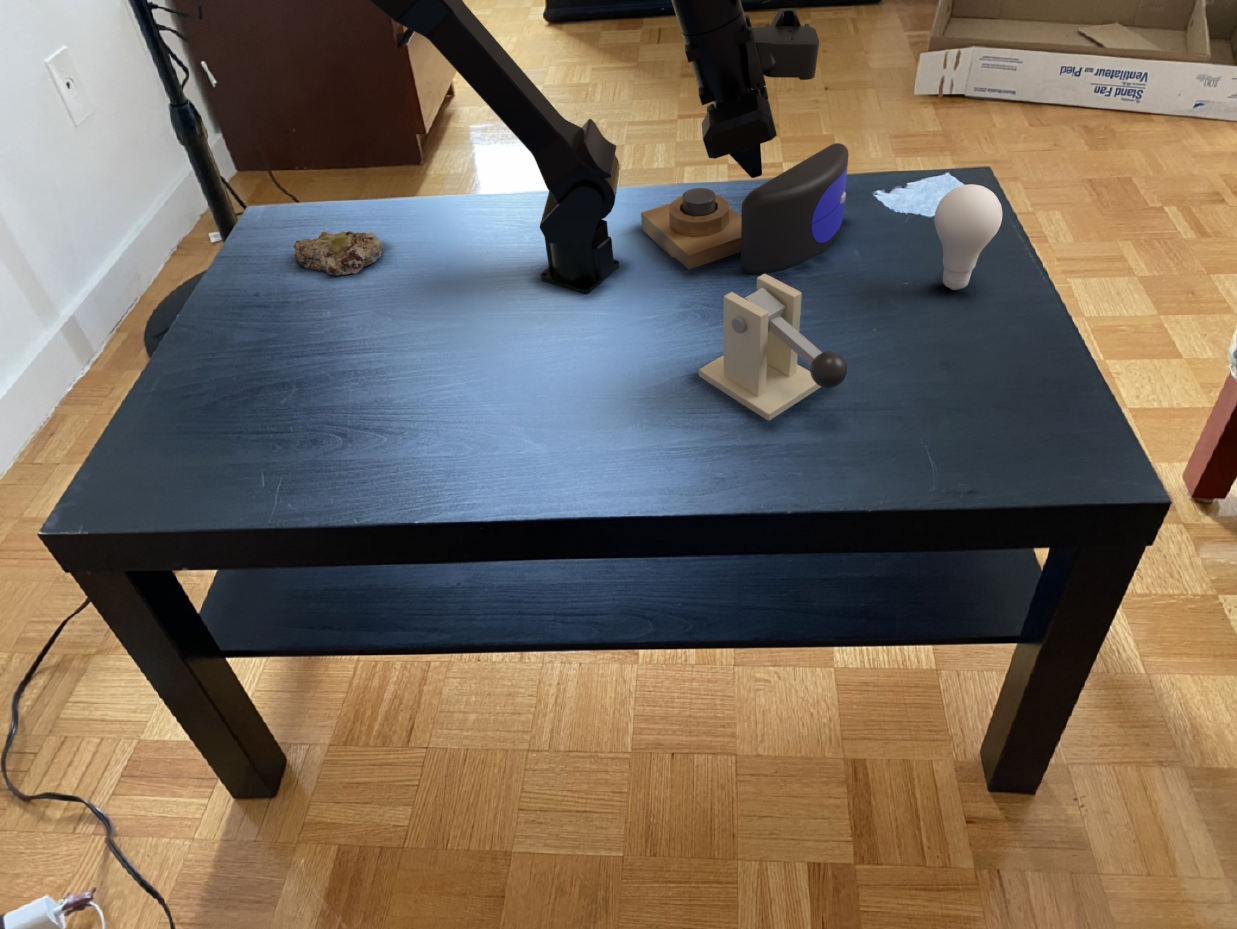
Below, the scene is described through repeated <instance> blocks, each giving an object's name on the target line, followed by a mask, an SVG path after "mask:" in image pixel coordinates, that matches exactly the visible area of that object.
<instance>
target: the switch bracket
mask: <svg viewBox="0 0 1237 929" xmlns="http://www.w3.org/2000/svg"><path fill="white" fill-rule="evenodd" d="M761 288H764V289H765V290H766V291H767V292H769V293H770V294H771V295H772V296H773V297H774V298H776V299H777V300H778V301H779V302H780V303H781V304H783V305H784V306H785V308H784V312H783V315H782V318H783V319H784V320H785V321H786V322H787V323H789V324H790V325H791V326H792V327H793V328H794V329H796V330H797V331H798V332H799V333H800V329H801V328H800V326H801V325H800V324H801V311H802V297H803V296H802V294H803V293H802V291H800V290H798V289H796V288H794V287H792V286H790V285H788V284H786V283H784V282H783V281H780V280H778V279H776V278H775V277H773V276H771V275H769V274H768V273H764V274H760V275H759V276H757V277H756V291H758V290H759V289H761ZM798 357H799V355H798V354H797V353H795V352H794V351H793V350H792V349H791V348H790V347H789V346H787V345H786V344H785V343H784V342H783V341H782V340H781V339H779V338H778V337H777V336H776V335H775V334H774V333H773V332H771V331H769V332H768V311H766V310H764V309H762V308H760V307H759V306H757V305H755V304H753V303H751V302H749V301H748V300H746V299H745V297H743V296H740V295H739V294H737V293H735V292H733V291H730V292H729V293H727V294H725V295H724V296H723V354H722V355H721V356H719V357H717V358H716V359H714V360H713V361H710V362H709V363H707V364H705V365H704V366H702V367H701V368H699V369H698V377H700V379H703V380H704V381H706V382H707V383H709V384H710V385H711V386H713V387H715V388H716V389H718V390H720V392H722V393H724V394H726V395H727V396H729V397H730V398H732V400H733V399H734V400H735V401H736V402H738V403H740V404H741V405H743V406H744V407H746V408H747V409H749V410H751V412H754V413H755V414H757V415H758V416H760V417H761V418H763V419H764V420H766V421H767V422H769V421H771V420H773V419H775V418H776V417H777V416H779V415H780V414H782V413H784V412H785V411H787V410H788V409H789V408H792V407H793V406H794V405H795V404H797V403H799V402H801V401H802V400H804V399H805V398H806V397H809V395H811V394H813V393H814V392H816V391H817V390H819V389H821V388H822V387H821V386H819V385H818V384H816V383H815V382H814V380H813V379H812V377H811V373H810V370H808V369H806V368H805V367H803V366H801V365H799V364H798V359H799V358H798Z"/></svg>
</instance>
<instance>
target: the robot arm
mask: <svg viewBox="0 0 1237 929" xmlns="http://www.w3.org/2000/svg"><path fill="white" fill-rule="evenodd" d="M771 1H772V0H761V3H762V4H765V3H768V2H771ZM368 2H370V3H371V4H372V5H374V6H375V7H376V8H377V9H379V11H381V12H382V13H384V14H385V16H387V17H388V18H390V19H391V20H392V21H393V22H395V23H396V24H399V25H400V26H403V27H405V28H407V29H409V30H411V31H412V32H415V33H417V34H419V35H420V36H422V37H424V38H426V39H427V40H428V41H429V42H430V43H431V44H432V46H434V47H435V48H436V50H437V51H438V52H439V53H440V55H442V56H443V57H444V58H445V60H446V61H447V62H448V63H449V65H451V66H452V67H453V68H454V69H455V70H456V72H457V73H458V74H459V75H460V76H461V77H462V79H463V80H464V81H465V82H466V83H467V84H468V86H470V87H471V88H472V89H473V90H474V92H475V93H476V94H477V95H478V96H479V97H480V98H481V100H482V101H483V102H484V103H485V104H486V105H487V106H488V107H489V108H490V109H491V110H492V111H493V112H494V114H495V115H496V116H497V117H498V118H499V120H501V121H502V123H503V124H504V125H505V126H506V127H507V128H508V129H509V130H510V131H511V133H513V135H514V136H515V137H516V138H517V139H518V140H519V141H520V143H522V145H523V146H524V147H525V148H526V149H527V150H528V151H529V153H530V154H531V155H532V157H533V159H534V161H535V163H536V165H537V168H538V170H539V173H540V175H541V177H542V180H543V182H544V185H545V186H546V189H547V190H548V194H547V196H546V201H545V205H544V208H543V212H542V215H541V220H540V224H539V229H540V231H541V233H542V236H543V238H544V242H545V243H544V244H545V251H546V258H547V263H548V264H547V265H548V267H547V268H546V269H545V270H544V271H543V272H541V273H540V274H539V276H540V280H541V281H544V282H547V283H550V284H554V285H556V286H560V287H563V288H566V289H570V290H573V291H576V292H579V293H583V294H589V293H591V292H592V291H593V290H595V289H596V288H597V287H598V286H599V285H600V284H601V283H602V282H604V281H605V280H606V279H607V278H608V277H609V276H611V275H612V274H613V273H614V272H615V271H616V270H617V269H619V268H620V266H621V264H620V261H619V259H614V251H613V240H612V237H611V236H609V229H608V227H609V226H608V221H607V220H605V219H606V218H607V217H608V216H609V215H610V213H611V212H612V211H613V209H614V206H615V203H616V197H617V190H618V184H619V177H620V162H619V159H618V157H617V156H616V152H617V145H616V144H614V143H613V142H611V141H609V140H608V139H607V138H606V137H605V136H604V135H603V133H602V132H601V131H600V129H599V127H598V125H597V124H596V122H595V121H594V120H593V119H592V118H589V119H588V120H587V121H586V122H585V123H584V124H583V125H582V126H579V125H577V124H576V123H573V122H571V121H570V120H567V119H566V118H565V117H564V116H562V115H561V113H560V112H559V111H558V110H557V109H556V108H555V107H554V106H553V104H552V103H551V102H550V101H549V100H548V98H546V96H545V95H544V94H543V93H542V91H541V90H540V89H539V88H538V87H537V85H535V84H534V83H533V81H532V80H531V78H529V76H528V75H527V74H526V73H525V72H524V71H523V69H522V68H521V67H520V65H518V64H517V63H516V61H515V60H514V59H513V58H512V57H511V55H510V54H509V53H508V52H507V51H506V50H505V49H504V47H503V46H502V45H501V44H500V43H499V42H498V40H497V39H496V38H495V37H494V36H493V35H492V33H490V31H489V30H488V29H487V28H486V27H485V25H484V24H483V23H482V22H481V21H480V19H478V17H477V16H476V15H475V14H474V13H473V11H472V10H471V9H470V8H469V7H468V5H467V4H466V3H465V2H464V0H368ZM671 3H672V6H673V10H674V13H675V16H676V19H677V20H676V21H677V22H678V25H679V30H680V32H681V35H682V39H683V42H684V53H685V55H686V59H687V63H690V64H691V67H692V70H693V74H694V77H695V80H696V83H697V88H698V97H699V100H700V103H701V106H705V105H707V106H706V115H705V116H704V118H703V120H702V121H701V134H702V141H703V145H704V147H705V150H706V154H707V157H708V159H713V160H716V159H719V158H722V157H724V156H728V155H729V156H730V157H731V158H732V159H733V161H735V162H736V163H737V164H738V165H739V167H740V168H742V169H743V171H744V172H745V173H746V174H747V175H748V176H749V177H750V178H751V179H755V178H759V177H762V175H763V163H762V147H761V144H764V143H767V142H771V141H773V139H775V138H776V137H777V136H778V134H777V129H776V124H775V120H774V115H773V111H772V109H771V103H770V101H769V93H768V88H767V82H766V79H765V77H768V78H784V79H785V78H787V79H789V78H790V79H791V78H793V79H799V80H800V81H808V80H809V81H810V80H812V79H814V78H815V77H816V72H817V63H818V57H819V56H818V55H819V48H820V39H819V36H818V33H817V30H816V28H814V27H813V26H811V25H810V23H804V25H802V24H801V21H800V18H799V16H798V12H797V11H796V10H797V9H796V8H791V7H790V8H789V7H788V8H787V7H785V8H783V7H782V8H779V9H778V11H777V13H776V14H775V16H774V18H773V19H772V21H771V23H767V22H766V23H765V24H764V25H765V26H758V27H757V26H755V27H753V26H752V23H751V19H750V18H751V17H750V14H746V12H745V11H744V8H743V5H742V0H671ZM708 104H709V105H708Z"/></svg>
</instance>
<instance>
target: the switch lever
mask: <svg viewBox="0 0 1237 929" xmlns="http://www.w3.org/2000/svg"><path fill="white" fill-rule="evenodd" d="M744 299H746V300H748V301H749V302H751V303H753V304H755V305H757V306H759V307H760V308H762V309H764V310H766V311H768V332H769V331H771V332H773V333H774V334H775V335H776V336H777V337H778V338H779V339H781V340H782V341H783V342H784V343H785V344H786V345H787V346H789V347H790V348H791V349H792V350H793V351H794V352H795V353H797V354H798V357H800V358H801V359H802V360H803V361H804V362H805V363H807V364H808V365H809V366H810V367H809V371H810V373H811V377H812V379H813V380H814V382H815V383H816V384H818V385H819V386H821V387H820V388H827V389H831V388H835V387H838V386H839V385H841V384H842V383H843V381H844V380H845V379H846V377H847V375H848V374H847V373H848V365H847V362H846V360H845V358H844V357H843V356H841V355H840V353H837V352H835V351H823V352H822V351H821V350H820V349H819V348H818V347H817V346H816V345H815V344H813V343H812V342H811V341H810V340H809V339H808V338H806V337H805V336H804V335H803V334H802V333H800V331H799V332H798V331H797V330H796V329H794V328H793V327H792V326H791V325H790V324H789V323H787V322H786V321H785V320H784V319H783V318H782V315H783V312H784V308H785V306H784V305H783V304H781V303H780V302H779V301H778V300H777V299H776V298H774V297H773V296H772V295H771V294H770V293H769V292H767V291H766V290H765V289H764V288H761V289H759V290H758V291H757V290H755V291H754V292H752V293H750V294H749V295H747V296H745V297H744Z"/></svg>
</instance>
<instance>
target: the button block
mask: <svg viewBox="0 0 1237 929" xmlns="http://www.w3.org/2000/svg"><path fill="white" fill-rule="evenodd" d="M741 215H742V214H739V213H738V212H737V211H735V210H734V209H733V208H732V207H730V203H729V201H728V200H727V199H725V198H724V197H723V196H722V195H719V194H716V193H715V212H714V213H712V214H709V215H706V216H696V217H694V216H690V215H686V214H684V213H683V206H682V195H681V196H678V197H676V198H675V199H674V200H673V201H672V202H670V203H667V204H663V205H661V206H657V207H654V208H652V209H649V210H645V211H642V212H640V220H641V230H642V231H643V232H644V233H645V234H646V235H648V237H649V238H650V239H651V240H653V241H654V242H655V243H656V244H657V245H658V246H659V247H660V248H661V249H662V250H663V251H665V252H666V253H667V254H668V255H669V256H670V257H671V258H672V259H673V258H675V259H676V260H677V261H678V262H680V263H681V265H683V266H684V267H685V268H686V269H687V270H691V269H695V268H698V267H700V266H704V265H706V264H710V263H712V262H715V261H718V260H722V259H724V258H728V257H730V256H733V255H737V254H738V253H741Z"/></svg>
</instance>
